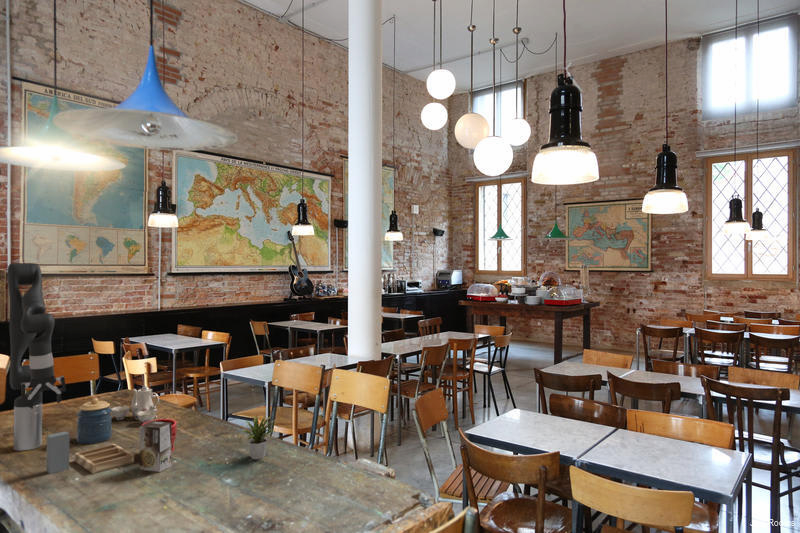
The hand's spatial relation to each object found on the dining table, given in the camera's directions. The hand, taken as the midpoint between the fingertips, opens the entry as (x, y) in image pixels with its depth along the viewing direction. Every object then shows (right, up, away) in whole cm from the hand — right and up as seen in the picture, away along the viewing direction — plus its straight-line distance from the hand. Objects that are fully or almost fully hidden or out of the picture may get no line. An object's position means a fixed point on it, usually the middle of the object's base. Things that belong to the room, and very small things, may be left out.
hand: (45, 405), depth 199 cm
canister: (+8, -20, +18) cm, 28 cm away
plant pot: (+43, -20, +2) cm, 47 cm away
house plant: (+83, -20, -2) cm, 86 cm away
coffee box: (+49, -20, -12) cm, 54 cm away
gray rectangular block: (+15, -19, -15) cm, 28 cm away
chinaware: (+13, -20, +47) cm, 52 cm away
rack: (+27, -20, -7) cm, 34 cm away
